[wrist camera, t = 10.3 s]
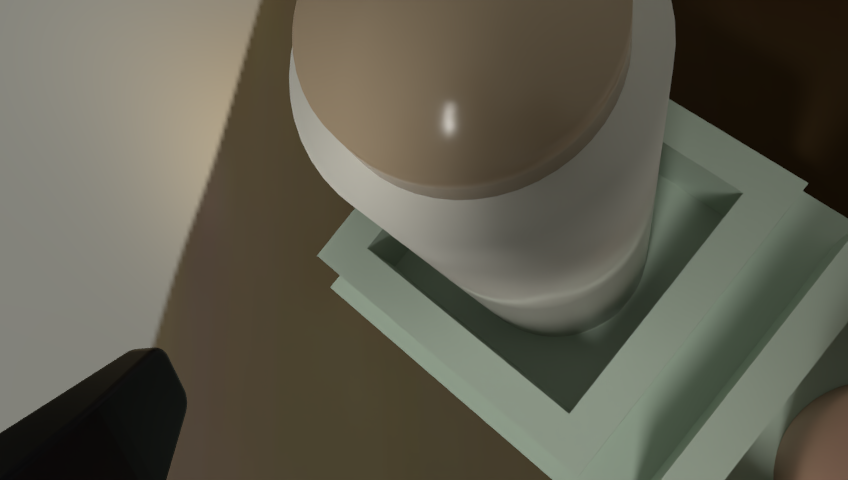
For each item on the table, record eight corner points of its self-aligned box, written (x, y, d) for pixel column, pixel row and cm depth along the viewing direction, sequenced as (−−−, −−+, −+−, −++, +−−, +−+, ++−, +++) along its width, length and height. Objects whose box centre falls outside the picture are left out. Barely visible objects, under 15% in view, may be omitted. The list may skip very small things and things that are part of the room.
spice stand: (1194, 452, 17) (1489, 470, 11) (931, 798, 17) (1092, 997, 11) (541, 47, 24) (513, -75, 18) (344, 293, 23) (251, 251, 18)
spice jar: (681, 287, 20) (775, 79, 7) (512, 366, 20) (340, 297, 8) (594, 131, 21) (553, -253, 9) (439, 211, 22) (204, -46, 10)
